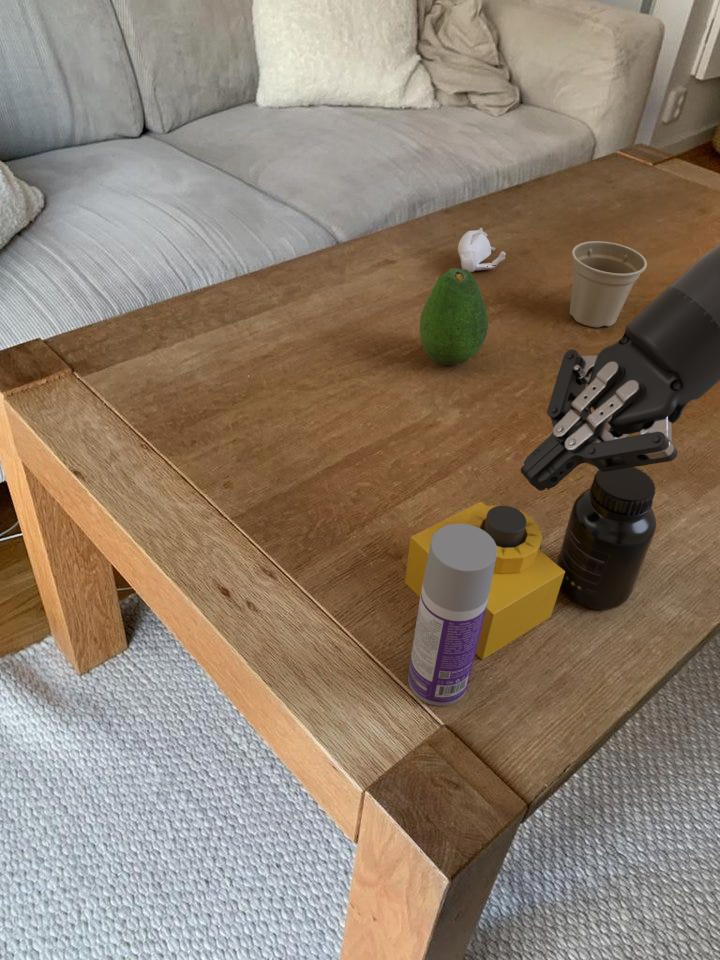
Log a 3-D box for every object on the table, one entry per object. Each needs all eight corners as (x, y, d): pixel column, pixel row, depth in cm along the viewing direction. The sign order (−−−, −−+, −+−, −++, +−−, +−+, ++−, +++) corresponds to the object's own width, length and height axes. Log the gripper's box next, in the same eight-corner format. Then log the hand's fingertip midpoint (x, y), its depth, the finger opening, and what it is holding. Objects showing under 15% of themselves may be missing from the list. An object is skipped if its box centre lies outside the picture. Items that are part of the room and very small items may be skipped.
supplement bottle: (584, 544, 76) (617, 444, 69) (645, 588, 73) (688, 487, 65) (536, 578, 73) (565, 476, 65) (598, 625, 69) (637, 523, 61)
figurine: (519, 244, 121) (500, 277, 113) (481, 259, 125) (460, 291, 116) (503, 207, 119) (483, 237, 110) (465, 223, 122) (442, 254, 114)
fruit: (494, 361, 100) (511, 270, 92) (457, 388, 95) (472, 294, 87) (440, 337, 103) (452, 248, 96) (402, 361, 99) (412, 269, 91)
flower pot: (623, 303, 113) (640, 244, 107) (634, 338, 106) (653, 277, 100) (555, 296, 113) (568, 237, 108) (561, 331, 106) (576, 270, 100)
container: (472, 664, 65) (504, 530, 56) (461, 713, 62) (493, 579, 52) (415, 650, 66) (436, 515, 56) (401, 697, 63) (422, 562, 53)
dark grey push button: (530, 538, 66) (535, 522, 65) (502, 553, 65) (506, 538, 64) (503, 515, 68) (507, 500, 67) (475, 530, 67) (478, 514, 66)
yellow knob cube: (555, 614, 70) (575, 553, 65) (482, 660, 66) (497, 598, 61) (476, 544, 76) (488, 483, 71) (404, 582, 72) (412, 520, 67)
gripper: (633, 250, 61) (465, 411, 66) (757, 340, 52) (552, 520, 56) (670, 304, 66) (512, 450, 71) (788, 394, 57) (598, 555, 62)
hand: (530, 481), depth 64 cm, fingers closed
